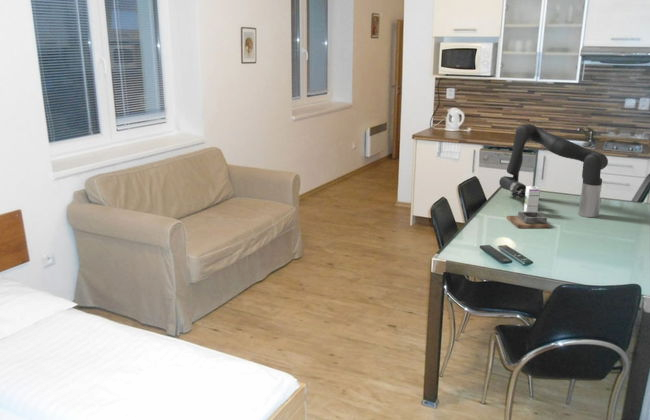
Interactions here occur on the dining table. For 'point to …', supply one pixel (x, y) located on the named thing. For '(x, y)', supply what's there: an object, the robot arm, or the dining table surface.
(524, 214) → the jig
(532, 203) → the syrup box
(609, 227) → the dining table surface
